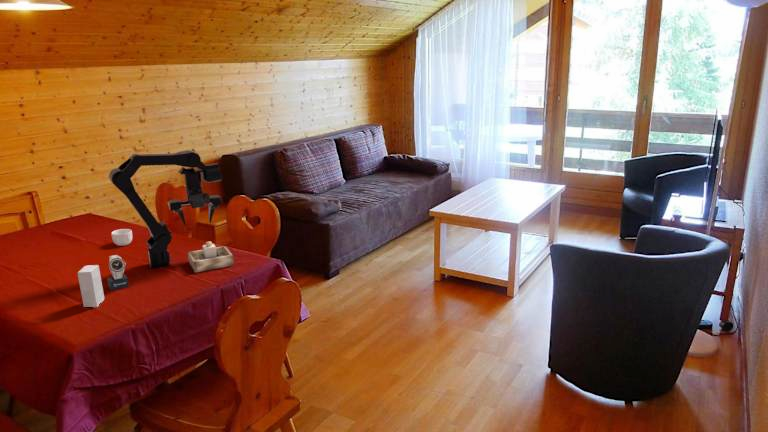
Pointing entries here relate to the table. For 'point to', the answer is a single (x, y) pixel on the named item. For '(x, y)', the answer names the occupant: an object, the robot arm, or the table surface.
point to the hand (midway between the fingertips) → (197, 224)
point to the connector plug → (209, 250)
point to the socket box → (210, 260)
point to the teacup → (122, 237)
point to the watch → (117, 273)
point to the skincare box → (91, 286)
